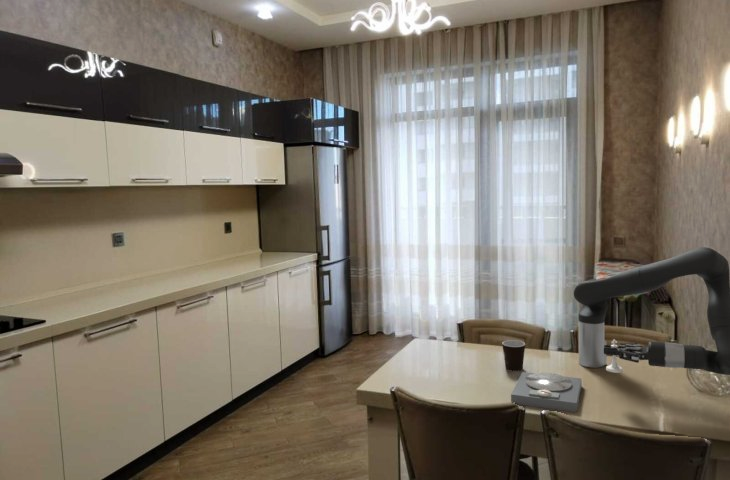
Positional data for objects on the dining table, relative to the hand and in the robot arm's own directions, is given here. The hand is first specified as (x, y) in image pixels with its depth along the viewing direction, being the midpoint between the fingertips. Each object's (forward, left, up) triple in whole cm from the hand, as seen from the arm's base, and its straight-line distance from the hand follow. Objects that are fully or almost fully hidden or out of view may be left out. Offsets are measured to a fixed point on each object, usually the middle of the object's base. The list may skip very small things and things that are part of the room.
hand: (604, 349), depth 166 cm
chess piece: (-2, +2, -7) cm, 7 cm away
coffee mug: (+7, -39, -17) cm, 43 cm away
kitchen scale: (+13, -12, -17) cm, 25 cm away
